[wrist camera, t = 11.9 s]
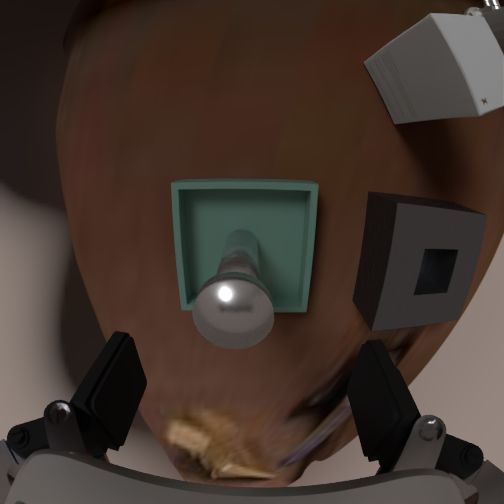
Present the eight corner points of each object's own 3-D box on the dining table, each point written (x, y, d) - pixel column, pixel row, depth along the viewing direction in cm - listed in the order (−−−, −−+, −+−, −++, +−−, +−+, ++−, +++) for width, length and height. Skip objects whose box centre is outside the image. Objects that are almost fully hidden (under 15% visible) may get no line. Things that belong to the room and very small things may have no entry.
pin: (217, 221, 25) (189, 280, 13) (265, 222, 25) (276, 282, 14) (219, 265, 26) (196, 347, 15) (264, 266, 26) (271, 349, 15)
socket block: (368, 191, 24) (397, 203, 19) (453, 202, 24) (487, 215, 19) (352, 299, 29) (371, 331, 23) (433, 295, 29) (458, 319, 23)
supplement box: (440, 109, 21) (524, 103, 9) (392, 125, 22) (480, 118, 10) (412, 49, 19) (485, 15, 7) (360, 60, 20) (429, 11, 8)
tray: (179, 179, 24) (171, 182, 21) (311, 180, 24) (318, 184, 22) (187, 295, 28) (181, 309, 26) (302, 297, 28) (306, 312, 26)
